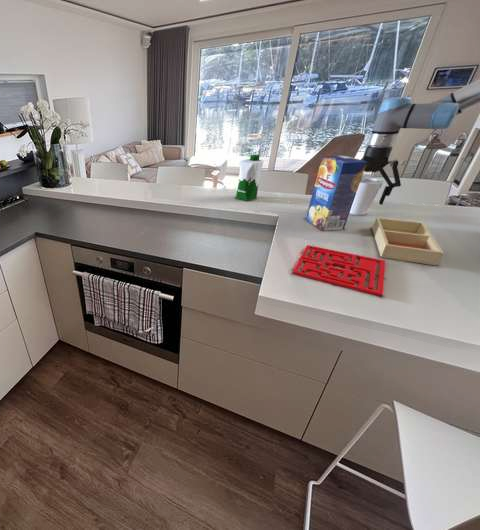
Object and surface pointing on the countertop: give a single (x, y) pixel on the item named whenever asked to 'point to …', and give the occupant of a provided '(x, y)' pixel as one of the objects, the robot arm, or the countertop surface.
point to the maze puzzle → (364, 266)
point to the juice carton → (335, 191)
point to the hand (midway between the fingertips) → (359, 201)
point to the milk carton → (249, 178)
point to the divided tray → (406, 241)
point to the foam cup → (365, 195)
